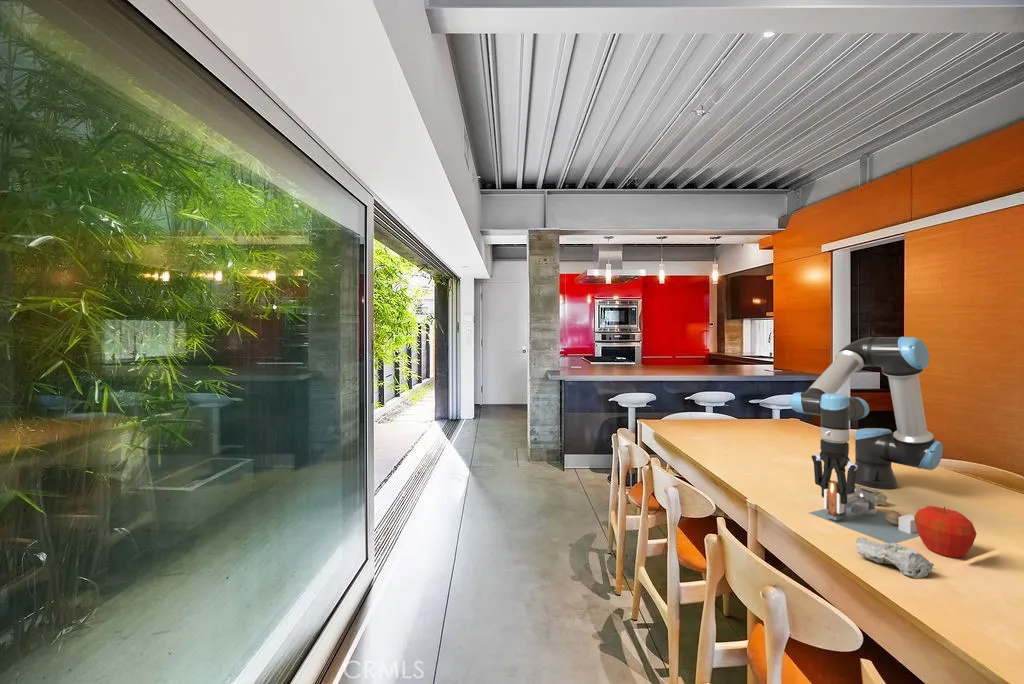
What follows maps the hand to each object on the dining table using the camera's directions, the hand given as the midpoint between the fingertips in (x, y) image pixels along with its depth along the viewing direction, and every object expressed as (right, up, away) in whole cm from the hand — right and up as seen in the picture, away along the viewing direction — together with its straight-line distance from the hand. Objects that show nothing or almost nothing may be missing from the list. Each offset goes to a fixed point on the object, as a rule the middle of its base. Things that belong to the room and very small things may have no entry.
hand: (834, 510), depth 139 cm
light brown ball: (+17, -3, -4) cm, 18 cm away
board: (+11, -4, -1) cm, 12 cm away
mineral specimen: (-4, -5, -26) cm, 27 cm away
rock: (+23, -5, +16) cm, 29 cm away
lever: (+8, -2, +3) cm, 9 cm away
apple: (+15, -5, -21) cm, 26 cm away
